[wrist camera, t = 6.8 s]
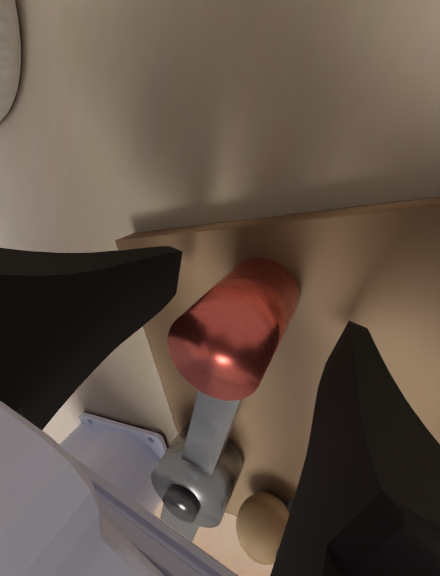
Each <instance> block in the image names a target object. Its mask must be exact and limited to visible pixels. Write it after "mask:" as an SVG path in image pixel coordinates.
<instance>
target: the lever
mask: <svg viewBox="0 0 440 576" xmlns="http://www.w3.org/2000/svg"><path fill="white" fill-rule="evenodd" d="M298 303H299V290H298V286H297V283H296V281H295V279H294V278H293V276H292V275H291V273H290V272H289V271H288V270H287V269H286V268H285V267H283V266H282V265H281V264H279V263H277V262H275V261H273V260H270V259H267V258H258V257H257V258H250V259H247V260H244V261H242V262H241V263H239V264H238V265H237V266H236V267H234V268H233V269H232V270H231V271H230V272H229V273H228V274H227V275H226V276H224V277H223V278H222V279H221V280H220V281H219V282H218V283H217V284H215V285H214V286H213V287H212V288H211V289H210V290H209V291H208V292H207V293H205V294H204V295H203V296H202V297H201V298H200V299H199V300H198V301H196V302H195V303H194V304H193V305H192V306H191V307H190V308H189V309H188V310H186V311H185V312H184V313H183V314H182V315H181V316H180V317H179V318H178V319H176V321H175V322H174V323H173V324H172V326H171V327H170V330H169V333H168V350H169V353H170V357H171V359H172V361H173V363H174V365H175V367H176V368H177V370H178V371H179V373H180V374H181V375H182V376H183V377H184V378H185V379H186V380H187V382H189V383H190V384H191V385H192V386H193V387H195V388H196V389H197V390H198V394H197V398H196V402H195V406H194V410H193V414H192V418H191V422H190V423H189V424H186V425H185V426H183V427H182V429H181V430H180V432H179V433H178V434H177V436H176V437H175V439H174V440H173V442H172V443H171V445H170V446H169V448H168V449H167V451H166V452H165V454H164V455H163V456H162V458H161V459H160V461H159V462H158V464H157V465H156V467H155V468H154V470H153V471H152V473H151V482H152V485H153V487H154V489H155V491H156V493H157V494H158V496H159V497H160V498H161V499H162V501H163V503H164V504H163V509H162V513H161V518H160V519H161V520H163V521H164V522H165V523H167V524H168V525H170V526H171V527H172V528H174V529H175V530H177V531H178V532H179V533H181V534H182V535H183V536H185V537H186V538H188V539H189V540H190V541H193V539H194V537H195V535H196V533H197V530H198V528H199V526H201V527H207V528H212V527H216V526H218V525H219V524H220V522H221V520H222V517H223V515H224V513H225V510H226V508H227V505H228V503H229V501H230V498H231V496H232V493H233V491H234V489H235V486H236V484H237V481H238V479H239V476H240V474H241V472H242V469H243V460H242V457H241V454H240V453H239V451H238V449H237V448H236V446H235V445H234V444H233V443H232V442H231V441H230V440H229V439H228V438H229V436H230V433H231V430H232V428H233V425H234V422H235V420H236V417H237V414H238V412H239V409H240V406H241V404H242V401H243V399H244V398H247V397H248V396H250V395H252V394H253V393H254V392H255V391H256V389H257V388H258V386H259V385H260V383H261V380H262V378H263V376H264V374H265V372H266V370H267V368H268V366H269V364H270V362H271V360H272V358H273V356H274V354H275V352H276V350H277V348H278V346H279V344H280V341H281V339H282V337H283V335H284V333H285V331H286V329H287V327H288V325H289V323H290V321H291V319H292V317H293V315H294V313H295V311H296V309H297V306H298Z"/></svg>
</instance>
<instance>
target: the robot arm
mask: <svg viewBox="0 0 440 576" xmlns="http://www.w3.org/2000/svg"><path fill="white" fill-rule="evenodd" d="M182 253H183V251H180V250H178V249H175V248H173V247H171V246H157V247H147V248H138V249H129V250H120V251H107V252H95V253H51V252H33V251H22V250H12V249H5V248H0V576H238V575H237V574H235V573H234V572H232V571H231V570H230V569H228V568H227V567H225V566H224V565H223V564H221V563H220V562H218V561H217V560H216V559H214V558H213V557H212V556H210V555H209V554H207V553H206V552H205V551H203V550H202V549H200V548H199V547H198V546H196V545H195V544H193V543H192V542H191V541H189V540H188V539H187V538H185V537H184V536H182V535H181V534H180V533H178V532H177V531H175V530H174V529H173V528H171V527H170V526H169V525H167V524H166V523H164V522H163V521H162V520H160V519H159V518H157V517H156V516H155V515H153V514H154V512H155V510H156V509H157V507H158V505H159V504H160V502H161V500H162V499H161V498H160V497H159V496H158V494H157V493H156V491H155V489H154V487H153V485H152V482H151V473H152V471H153V470H154V468H155V467H156V465H157V464H158V462H159V461H160V459H161V458H162V456H163V455H164V454H165V452H166V451H167V446H166V443H165V441H164V438H163V437H162V435H160V434H158V433H155V432H152V431H148V430H145V429H141V428H138V427H134V426H131V425H127V424H123V423H120V422H116V421H113V420H109V419H106V418H102V417H99V416H95V415H92V414H88V413H85V412H82V413H81V414H80V415H79V419H80V421H81V424H80V425H79V426H78V427H77V428H76V429H75V430H74V431H73V432H72V433H71V434H70V435H69V436H68V437H67V438H66V439H65V440H64V441H63V442H62V443H60V444H58V443H57V442H56V441H54V440H53V439H52V438H51V437H50V436H49V435H47V434H46V433H45V432H43V431H42V430H43V428H44V427H45V426H46V425H47V423H48V422H49V421H50V420H51V419H52V417H53V416H54V415H55V414H56V412H57V411H58V410H59V409H60V408H61V406H62V405H63V404H64V403H65V402H66V401H67V399H68V398H69V397H70V396H71V395H72V394H73V393H74V391H75V390H76V389H77V388H78V387H79V386H80V385H81V384H82V382H83V381H84V380H85V379H86V378H87V377H88V376H89V375H90V374H91V373H92V372H93V371H94V370H95V369H96V367H97V366H98V365H99V364H100V363H101V362H102V361H103V360H104V359H105V358H106V357H107V356H108V355H109V354H110V353H111V352H112V351H113V350H114V349H115V348H117V347H118V346H119V345H120V344H121V343H122V342H123V341H125V340H126V339H127V338H128V337H130V336H131V335H132V334H133V333H135V332H136V331H137V330H138V329H140V328H141V327H142V326H143V325H145V324H146V323H147V322H148V321H150V320H151V319H152V318H153V317H154V316H156V315H157V314H158V313H159V312H160V311H161V310H162V309H163V308H164V307H165V306H166V305H167V304H168V303H169V302H170V301H171V300H172V298H173V297H174V296H175V295H176V292H177V286H178V279H179V272H180V266H181V259H182ZM270 576H440V444H439V443H438V442H437V440H436V439H435V438H434V437H433V435H432V434H431V433H430V432H429V430H428V429H427V428H426V426H425V425H424V424H423V422H422V421H421V420H420V418H419V417H418V416H417V414H416V413H415V412H414V410H413V409H412V407H411V406H410V404H409V403H408V402H407V400H406V399H405V397H404V395H403V394H402V392H401V391H400V389H399V387H398V386H397V384H396V382H395V381H394V379H393V377H392V376H391V374H390V372H389V370H388V368H387V367H386V365H385V363H384V361H383V359H382V357H381V355H380V353H379V351H378V349H377V347H376V345H375V343H374V340H373V338H372V336H371V334H370V332H369V330H368V328H366V327H363V326H361V325H359V324H356V323H354V322H351V321H348V323H347V325H346V327H345V329H344V330H343V332H342V334H341V336H340V338H339V340H338V341H337V343H336V345H335V347H334V349H333V351H332V352H331V354H330V356H329V358H328V360H327V362H326V363H325V367H324V370H323V373H322V376H321V379H320V382H319V386H318V390H317V396H316V402H315V408H314V414H313V420H312V426H311V432H310V438H309V444H308V449H307V454H306V458H305V462H304V465H303V469H302V472H301V476H300V480H299V483H298V487H297V490H296V493H295V497H294V500H293V504H292V507H291V510H290V514H289V517H288V521H287V524H286V527H285V530H284V534H283V537H282V540H281V543H280V547H279V550H278V553H277V556H276V559H275V563H274V566H273V569H272V572H271V575H270Z"/></svg>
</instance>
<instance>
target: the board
mask: <svg viewBox="0 0 440 576" xmlns="http://www.w3.org/2000/svg"><path fill="white" fill-rule="evenodd" d="M115 241H116V244H117V247H118V250H119V251H120V250H129V249H138V248H147V247H157V246H171V247H173V248H175V249H178V250H180V251H183V253H182V259H181V266H180V272H179V279H178V286H177V292H176V295H175V296H174V297H173V298H172V300H171V301H170V302H169V303H168V304H167V305H166V306H165V307H164V308H163V309H162V310H161V311H160V312H159V313H158V314H157V315H156V316H154V317H153V318H152V319H151V320H150V321H148V322H147V323H146V324H145V325H143V327H144V330H145V333H146V337H147V340H148V343H149V346H150V349H151V352H152V355H153V358H154V361H155V364H156V367H157V370H158V373H159V377H160V380H161V383H162V386H163V389H164V392H165V395H166V398H167V401H168V404H169V407H170V410H171V413H172V417H173V420H174V423H175V426H176V429H177V432H178V433H179V432H180V430H181V429H182V427H183V426H185V425H186V424H189V423H190V422H191V418H192V414H193V410H194V406H195V402H196V398H197V394H198V390H197V389H196V388H195V387H193V386H192V385H191V384H190V383H189V382H187V380H186V379H185V378H184V377H183V376H182V375H181V374H180V373H179V371H178V370H177V368H176V367H175V365H174V363H173V361H172V359H171V357H170V353H169V350H168V333H169V330H170V327H171V326H172V324H173V323H174V322H175V321H176V319H178V318H179V317H180V316H181V315H182V314H183V313H184V312H185V311H186V310H188V309H189V308H190V307H191V306H192V305H193V304H194V303H195V302H196V301H198V300H199V299H200V298H201V297H202V296H203V295H204V294H205V293H207V292H208V291H209V290H210V289H211V288H212V287H213V286H214V285H215V284H217V283H218V282H219V281H220V280H221V279H222V278H223V277H224V276H226V275H227V274H228V273H229V272H230V271H231V270H232V269H233V268H234V267H236V266H237V265H238V264H239V263H241V262H242V261H244V260H247V259H250V258H257V257H258V258H267V259H270V260H273V261H275V262H277V263H279V264H281V265H282V266H283V267H285V268H286V269H287V270H288V271H289V272H290V273H291V275H292V276H293V278H294V279H295V281H296V283H297V286H298V290H299V303H298V306H297V309H296V311H295V313H294V315H293V317H292V319H291V321H290V323H289V325H288V327H287V329H286V331H285V333H284V335H283V337H282V339H281V341H280V344H279V346H278V348H277V350H276V352H275V354H274V356H273V358H272V360H271V362H270V364H269V366H268V368H267V370H266V372H265V374H264V376H263V378H262V380H261V383H260V385H259V386H258V388H257V389H256V391H255V392H254V393H253V394H252V395H250V396H248V397H247V398H244V399H243V401H242V404H241V406H240V409H239V412H238V414H237V417H236V420H235V422H234V425H233V428H232V430H231V433H230V436H229V438H228V439H229V440H230V441H231V442H232V443H233V444H234V445H235V446H236V448H237V449H238V451H239V453H240V454H241V457H242V460H243V469H242V472H241V474H240V476H239V479H238V481H237V484H236V486H235V489H234V491H233V493H232V496H231V498H230V501H229V503H228V505H227V508H226V510H225V512H227V513H229V514H232V515H234V516H237V521H236V530H237V536H238V539H239V542H240V545H241V547H242V548H243V550H244V552H245V553H246V554H247V555H248V556H249V557H250V558H251V559H252V560H254V561H255V562H257V563H260V564H264V565H271V564H274V563H275V559H276V556H277V553H278V550H279V547H280V543H281V540H282V537H283V534H284V530H285V527H286V524H287V521H288V517H289V514H290V510H291V507H292V504H293V500H294V497H295V493H296V490H297V487H298V483H299V480H300V476H301V472H302V469H303V465H304V462H305V458H306V454H307V449H308V444H309V438H310V432H311V426H312V420H313V414H314V408H315V402H316V396H317V390H318V386H319V382H320V379H321V376H322V373H323V370H324V367H325V363H326V362H327V360H328V358H329V356H330V354H331V352H332V351H333V349H334V347H335V345H336V343H337V341H338V340H339V338H340V336H341V334H342V332H343V330H344V329H345V327H346V325H347V323H348V321H351V322H354V323H356V324H359V325H361V326H363V327H366V328H368V330H369V332H370V334H371V336H372V338H373V340H374V343H375V345H376V347H377V349H378V351H379V353H380V355H381V357H382V359H383V361H384V363H385V365H386V367H387V368H388V370H389V372H390V374H391V376H392V377H393V379H394V381H395V382H396V384H397V386H398V387H399V389H400V391H401V392H402V394H403V395H404V397H405V399H406V400H407V402H408V403H409V404H410V406H411V407H412V409H413V410H414V412H415V413H416V414H417V416H418V417H419V418H420V420H421V421H422V422H423V424H424V425H425V426H426V428H427V429H428V430H429V432H430V433H431V434H432V435H433V437H434V438H435V439H436V440H437V442H438V443H439V444H440V197H436V198H428V199H419V200H411V201H402V202H394V203H385V204H377V205H368V206H360V207H351V208H343V209H334V210H326V211H317V212H309V213H300V214H292V215H283V216H275V217H266V218H258V219H249V220H241V221H232V222H224V223H215V224H207V225H198V226H190V227H181V228H173V229H164V230H156V231H147V232H139V233H133V234H131V235H128V236H126V237H123V238H121V239H118V240H115Z"/></svg>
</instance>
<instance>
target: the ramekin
mask: <svg viewBox="0 0 440 576" xmlns="http://www.w3.org/2000/svg"><path fill="white" fill-rule="evenodd" d="M20 70H21V40H20V28H19V20H18V14H17V8H16V3H15V0H0V122H1V120H2V119H3V118H4V117H5V116H6V115H7V113H8V112H9V110H10V108H11V106H12V104H13V101H14V99H15V96H16V93H17V90H18V85H19V79H20Z"/></svg>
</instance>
